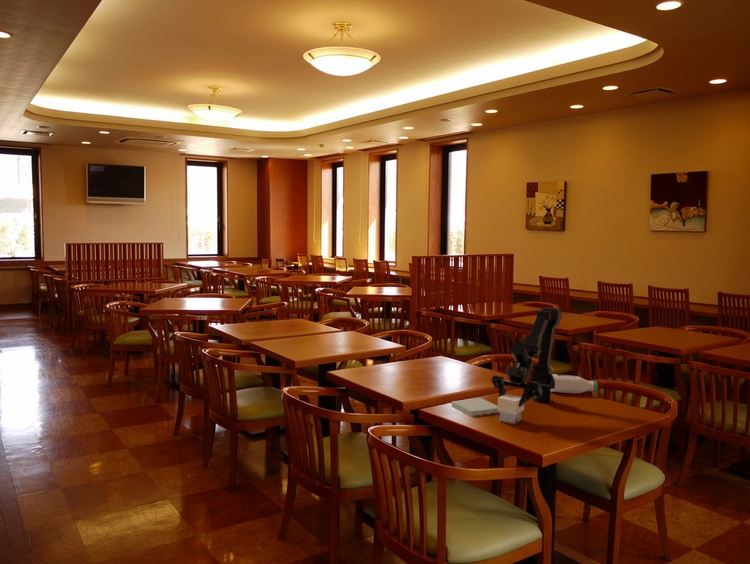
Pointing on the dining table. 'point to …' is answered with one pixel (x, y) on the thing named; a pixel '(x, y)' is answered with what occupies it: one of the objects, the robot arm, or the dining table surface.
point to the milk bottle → (573, 384)
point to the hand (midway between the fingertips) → (509, 404)
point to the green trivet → (475, 407)
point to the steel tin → (510, 417)
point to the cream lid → (509, 404)
